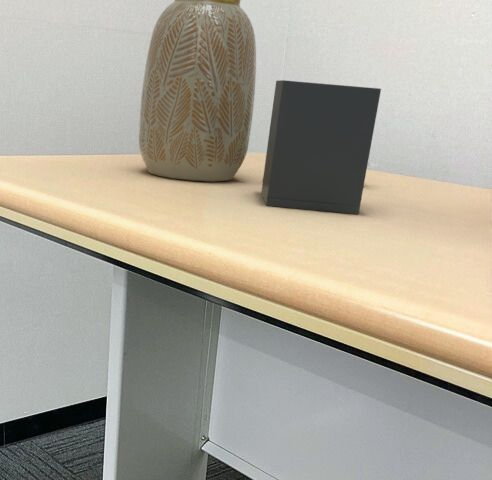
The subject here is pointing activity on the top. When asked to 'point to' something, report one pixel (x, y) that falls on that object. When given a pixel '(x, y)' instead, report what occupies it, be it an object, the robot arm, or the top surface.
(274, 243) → the top surface
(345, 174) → the dark grey block
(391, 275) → the top surface
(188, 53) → the vase
